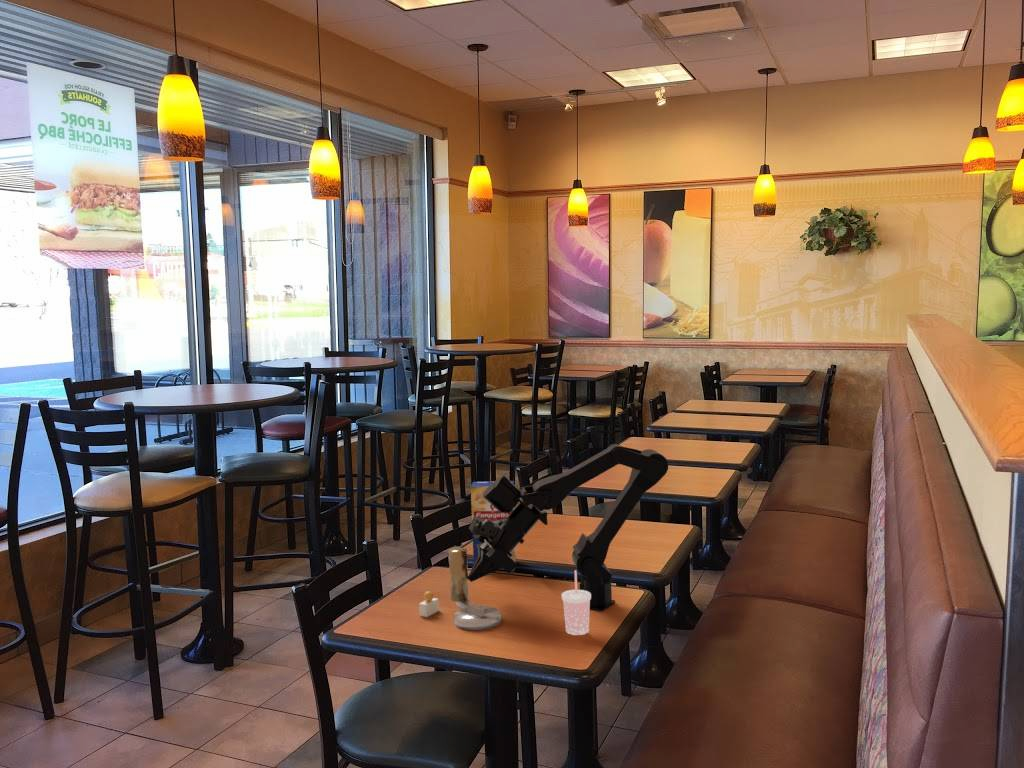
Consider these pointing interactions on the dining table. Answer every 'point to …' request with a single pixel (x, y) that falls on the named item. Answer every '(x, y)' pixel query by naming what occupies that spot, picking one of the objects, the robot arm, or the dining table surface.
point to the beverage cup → (576, 610)
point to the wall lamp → (470, 612)
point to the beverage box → (485, 512)
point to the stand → (428, 605)
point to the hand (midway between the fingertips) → (469, 579)
